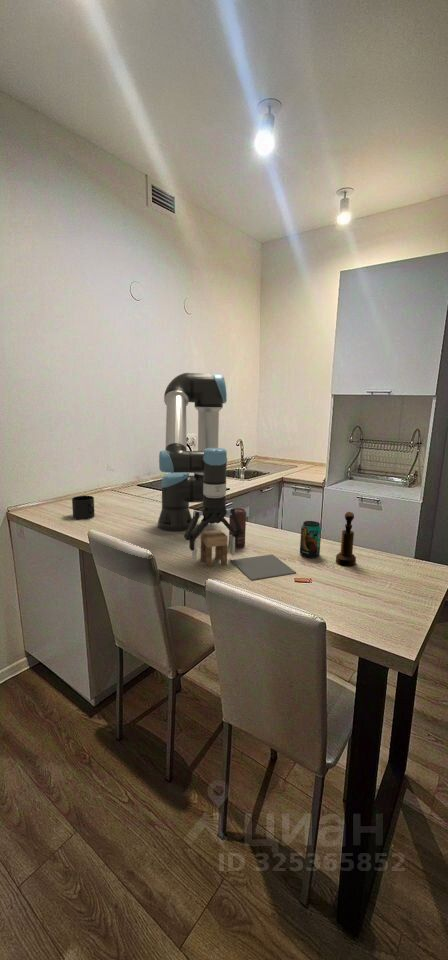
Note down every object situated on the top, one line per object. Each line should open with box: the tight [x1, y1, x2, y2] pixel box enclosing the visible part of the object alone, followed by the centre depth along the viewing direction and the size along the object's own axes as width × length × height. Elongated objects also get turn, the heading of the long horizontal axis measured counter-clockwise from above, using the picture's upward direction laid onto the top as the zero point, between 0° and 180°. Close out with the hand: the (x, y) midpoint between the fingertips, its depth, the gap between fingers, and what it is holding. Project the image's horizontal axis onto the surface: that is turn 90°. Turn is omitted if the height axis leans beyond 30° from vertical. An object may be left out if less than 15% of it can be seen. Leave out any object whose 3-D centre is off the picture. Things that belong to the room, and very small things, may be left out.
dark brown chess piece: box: [335, 511, 357, 567], centre depth 134 cm, size 7×6×18 cm
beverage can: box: [299, 520, 322, 559], centre depth 141 cm, size 7×7×12 cm
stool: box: [200, 529, 229, 569], centre depth 133 cm, size 7×7×10 cm
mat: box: [230, 553, 297, 581], centre depth 131 cm, size 16×16×1 cm
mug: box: [71, 495, 96, 520], centre depth 181 cm, size 9×12×9 cm
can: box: [228, 508, 247, 549], centre depth 149 cm, size 6×6×14 cm
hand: (213, 556), depth 134 cm, fingers open, 13 cm apart
